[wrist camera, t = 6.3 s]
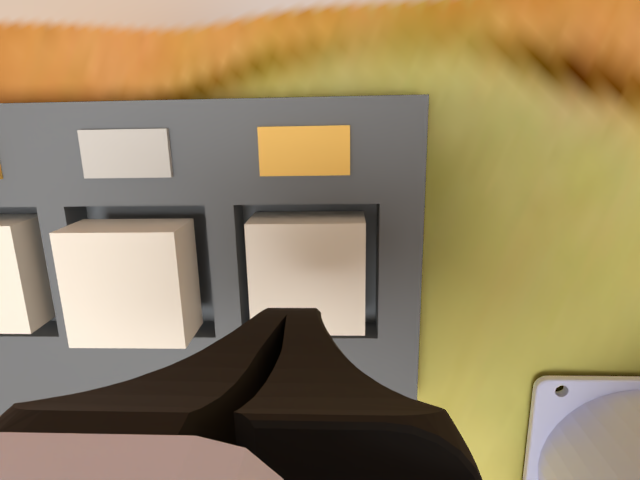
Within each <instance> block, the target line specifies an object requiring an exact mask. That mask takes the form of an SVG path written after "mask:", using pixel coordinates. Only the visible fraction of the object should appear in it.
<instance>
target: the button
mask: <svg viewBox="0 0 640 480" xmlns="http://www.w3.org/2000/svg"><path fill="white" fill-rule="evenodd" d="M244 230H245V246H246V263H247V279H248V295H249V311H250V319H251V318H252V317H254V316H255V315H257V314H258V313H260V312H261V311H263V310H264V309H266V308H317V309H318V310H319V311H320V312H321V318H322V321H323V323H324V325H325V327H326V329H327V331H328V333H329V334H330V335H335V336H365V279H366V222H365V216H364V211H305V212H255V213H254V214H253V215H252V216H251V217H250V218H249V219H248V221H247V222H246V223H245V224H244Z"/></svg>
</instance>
